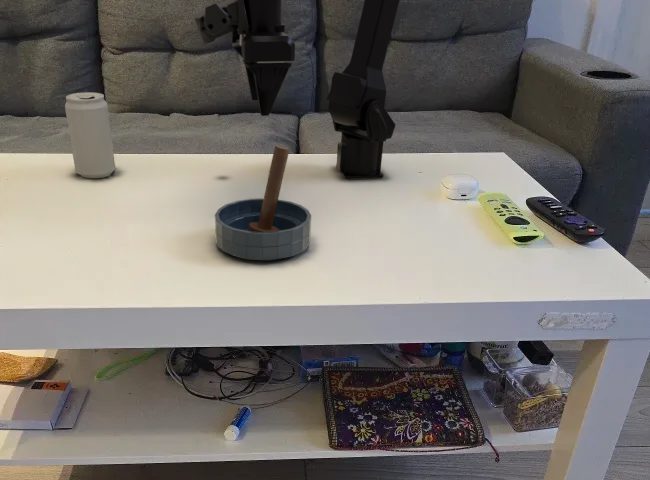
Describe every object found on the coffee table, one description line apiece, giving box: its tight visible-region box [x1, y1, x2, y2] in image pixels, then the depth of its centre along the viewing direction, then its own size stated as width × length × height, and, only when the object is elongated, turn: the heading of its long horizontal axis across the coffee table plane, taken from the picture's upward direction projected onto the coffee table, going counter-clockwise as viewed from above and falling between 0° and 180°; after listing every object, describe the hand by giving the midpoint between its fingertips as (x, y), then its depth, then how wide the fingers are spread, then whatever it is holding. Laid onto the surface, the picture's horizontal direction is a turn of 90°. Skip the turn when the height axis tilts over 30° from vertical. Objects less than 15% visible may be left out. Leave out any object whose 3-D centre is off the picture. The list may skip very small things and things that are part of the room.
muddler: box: [248, 144, 290, 232], centre depth 83 cm, size 4×4×11 cm
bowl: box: [214, 197, 312, 262], centre depth 85 cm, size 12×12×4 cm
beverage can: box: [64, 91, 116, 179], centre depth 105 cm, size 6×6×12 cm
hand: (260, 107), depth 93 cm, fingers open, 9 cm apart
